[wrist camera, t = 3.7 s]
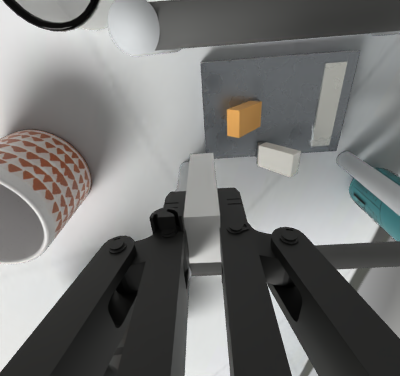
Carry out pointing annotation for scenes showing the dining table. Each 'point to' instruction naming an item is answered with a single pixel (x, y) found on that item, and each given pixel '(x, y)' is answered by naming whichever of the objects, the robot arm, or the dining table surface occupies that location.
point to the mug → (63, 13)
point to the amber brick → (243, 118)
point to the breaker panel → (279, 100)
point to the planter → (37, 192)
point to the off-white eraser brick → (278, 158)
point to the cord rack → (263, 32)
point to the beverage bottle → (377, 205)
